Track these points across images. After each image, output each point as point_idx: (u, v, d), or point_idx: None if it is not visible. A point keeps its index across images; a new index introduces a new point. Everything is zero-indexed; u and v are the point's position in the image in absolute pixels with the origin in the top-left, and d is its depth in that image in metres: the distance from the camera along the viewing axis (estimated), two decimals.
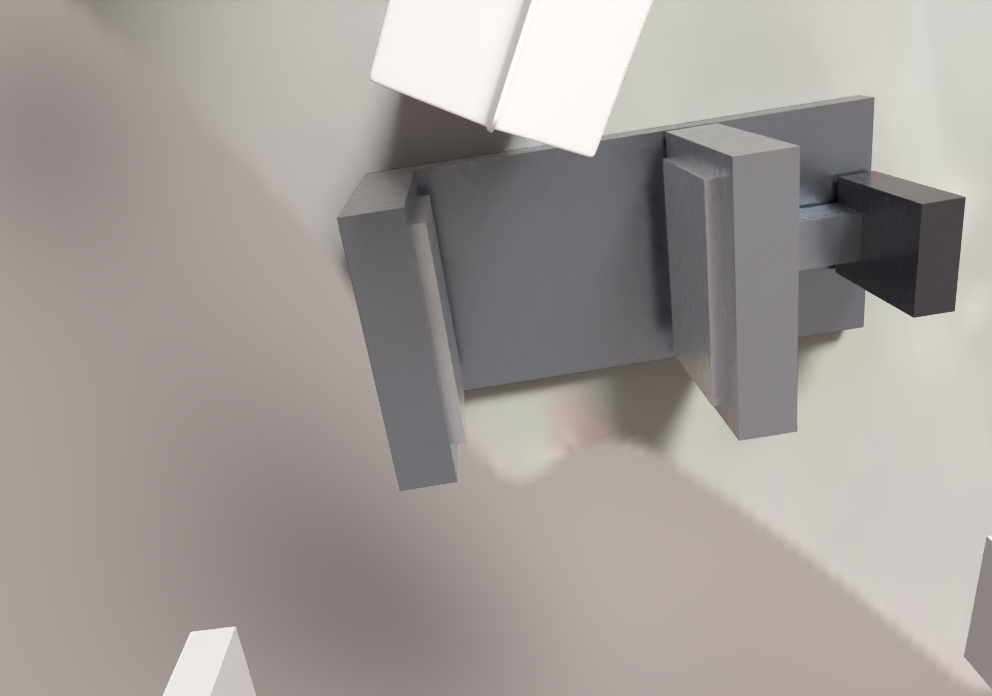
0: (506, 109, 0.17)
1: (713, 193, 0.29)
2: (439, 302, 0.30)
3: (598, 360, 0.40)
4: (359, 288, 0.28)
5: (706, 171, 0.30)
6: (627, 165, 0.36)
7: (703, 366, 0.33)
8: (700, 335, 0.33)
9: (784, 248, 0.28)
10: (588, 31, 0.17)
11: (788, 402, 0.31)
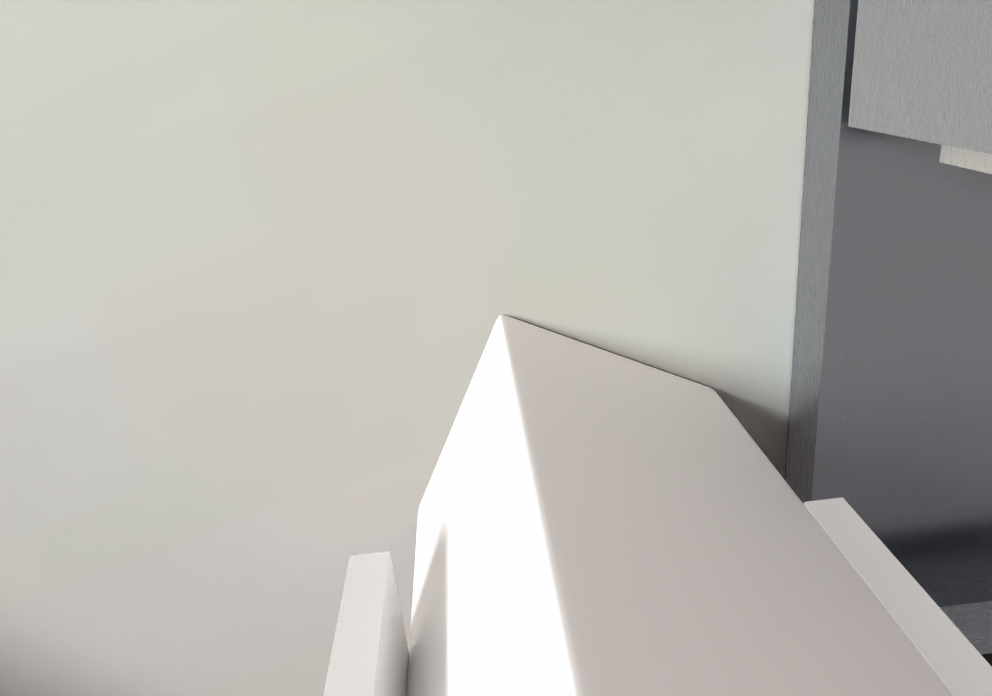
0: None
1: None
2: None
3: None
4: None
5: None
6: (896, 208, 0.16)
7: None
8: None
9: None
10: None
11: None
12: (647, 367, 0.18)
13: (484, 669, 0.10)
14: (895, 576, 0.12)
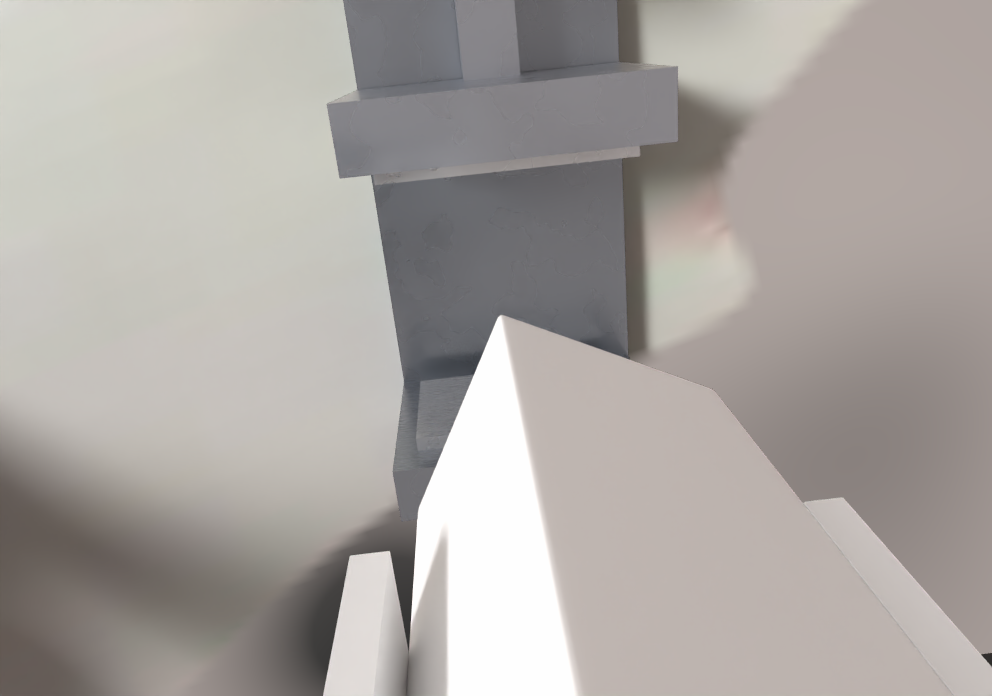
0: None
1: (388, 174, 0.27)
2: None
3: (613, 209, 0.36)
4: None
5: None
6: (401, 183, 0.35)
7: None
8: None
9: (440, 109, 0.25)
10: None
11: (635, 82, 0.25)
12: (647, 368, 0.18)
13: (483, 670, 0.10)
14: (895, 576, 0.12)
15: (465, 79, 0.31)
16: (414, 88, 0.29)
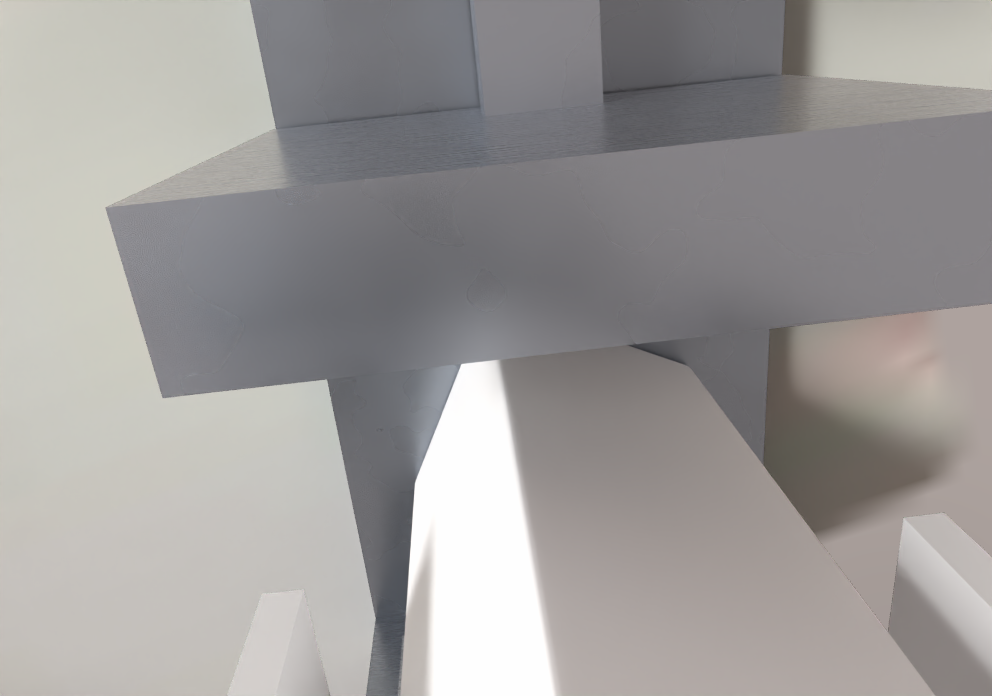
0: None
1: None
2: None
3: (750, 340, 0.20)
4: None
5: None
6: None
7: None
8: None
9: (433, 219, 0.09)
10: None
11: (981, 143, 0.09)
12: (626, 346, 0.20)
13: (469, 606, 0.11)
14: None
15: (488, 113, 0.15)
16: (376, 138, 0.13)
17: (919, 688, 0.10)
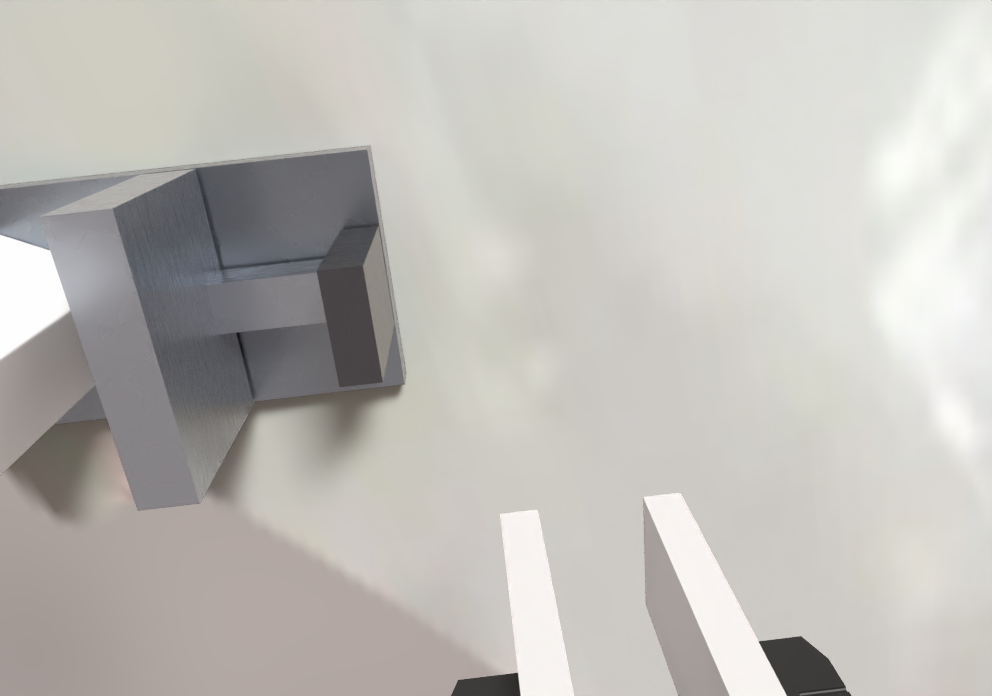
0: None
1: None
2: None
3: None
4: None
5: None
6: None
7: None
8: None
9: (127, 314, 0.27)
10: None
11: (181, 473, 0.29)
12: None
13: None
14: (703, 566, 0.13)
15: (206, 286, 0.33)
16: (177, 254, 0.30)
17: None
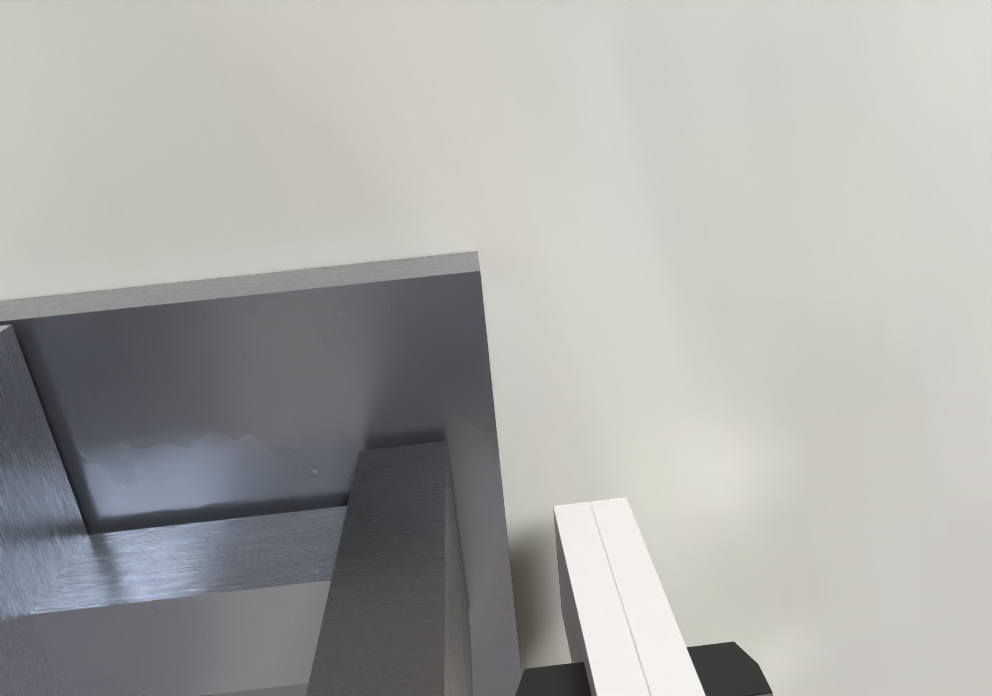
0: None
1: None
2: None
3: None
4: None
5: None
6: None
7: None
8: None
9: None
10: None
11: None
12: None
13: None
14: (641, 572, 0.13)
15: (32, 618, 0.14)
16: None
17: None
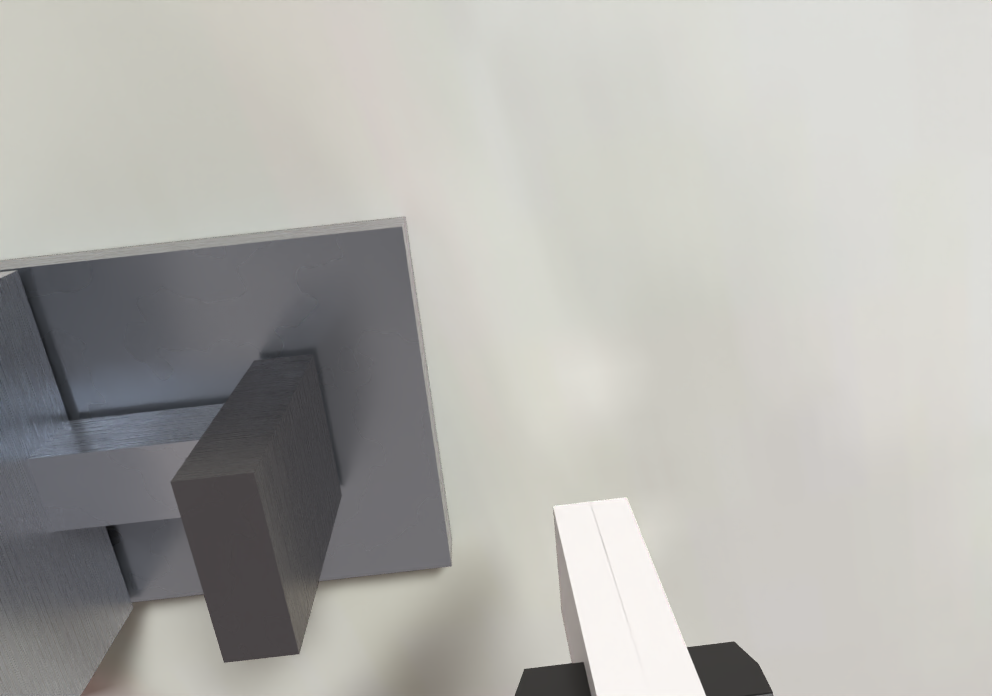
0: None
1: None
2: None
3: None
4: None
5: None
6: None
7: None
8: None
9: None
10: None
11: None
12: None
13: None
14: (641, 572, 0.13)
15: (29, 461, 0.21)
16: None
17: None
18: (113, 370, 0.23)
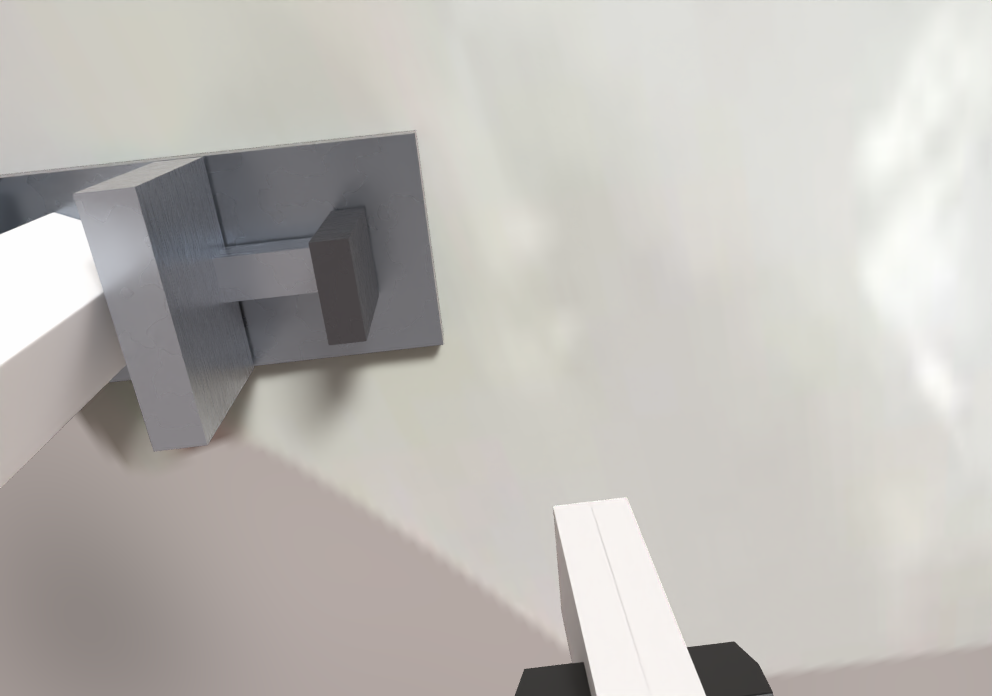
0: None
1: None
2: None
3: None
4: None
5: None
6: None
7: None
8: None
9: (146, 278, 0.31)
10: None
11: (191, 418, 0.34)
12: None
13: (42, 283, 0.31)
14: (641, 571, 0.13)
15: (213, 259, 0.38)
16: (188, 229, 0.35)
17: (55, 430, 0.32)
18: (250, 217, 0.40)
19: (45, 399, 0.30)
